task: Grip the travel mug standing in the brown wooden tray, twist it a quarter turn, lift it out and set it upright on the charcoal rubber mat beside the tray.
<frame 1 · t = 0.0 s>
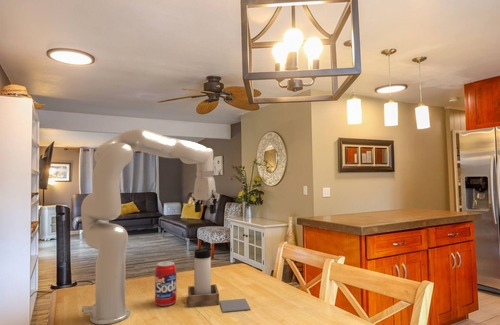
hand: (205, 212, 149), 31 cm above the table, tool pointing down, fingers open, 9 cm apart
soda can: (165, 303, 124), on the table
brown wooden tray: (203, 300, 126), on the table
rubber mat: (234, 306, 121), on the table
travel mug: (203, 301, 126), resting in brown wooden tray
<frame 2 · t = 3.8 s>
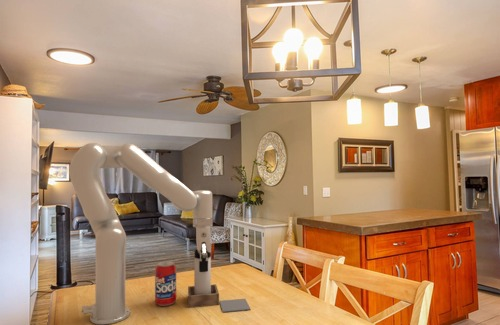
hand: (203, 268, 127), 12 cm above the table, tool pointing down, fingers closed on travel mug, 6 cm apart
travel mug: (203, 301, 126), resting in brown wooden tray, touching gripper
everything else where it was.
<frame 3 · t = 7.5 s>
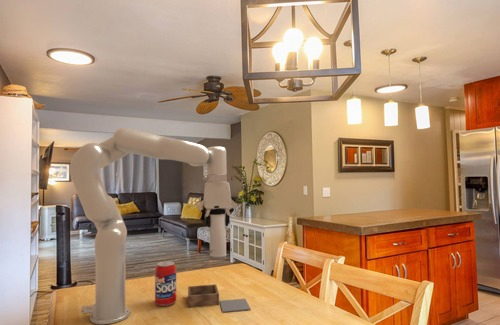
hand: (217, 225, 125), 29 cm above the table, tool pointing down, fingers closed on travel mug, 6 cm apart
travel mug: (218, 258, 124), point 17 cm above the table, touching gripper
everything else where it was.
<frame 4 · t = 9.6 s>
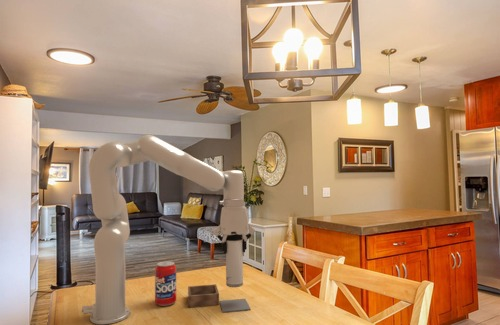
hand: (234, 251, 122), 20 cm above the table, tool pointing down, fingers closed on travel mug, 6 cm apart
travel mug: (234, 285, 121), point 7 cm above the table, touching gripper
everything else where it was.
when the fingers open (14 cm above the table, at t = 11.2 s): travel mug drops 1 cm, resting on rubber mat.
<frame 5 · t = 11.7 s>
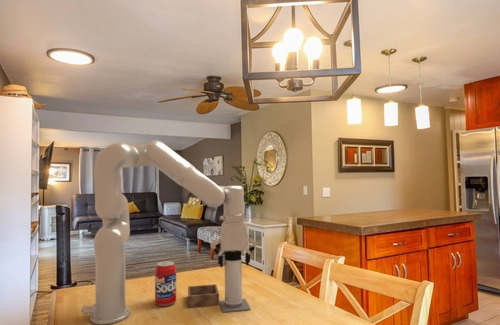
hand: (234, 265, 121), 15 cm above the table, tool pointing down, fingers open, 9 cm apart
travel mug: (233, 305, 121), resting on rubber mat
everything else where it was.
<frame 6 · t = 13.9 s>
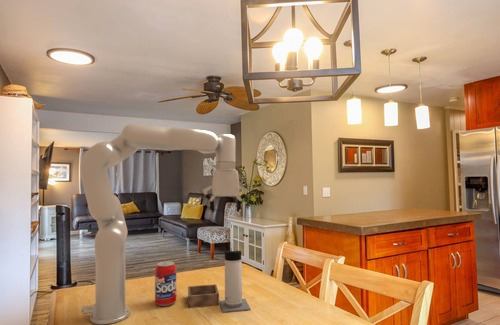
hand: (225, 211, 125), 34 cm above the table, tool pointing down, fingers open, 9 cm apart
nothing on the table moved.
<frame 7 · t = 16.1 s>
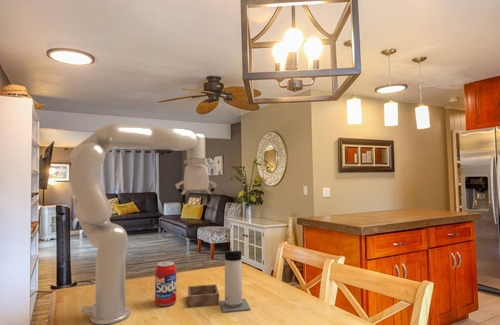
hand: (196, 203, 138), 36 cm above the table, tool pointing down, fingers open, 9 cm apart
nothing on the table moved.
at the end: travel mug 0.4 cm off-centre on the rubber mat, point 0.3 cm above the rubber mat's base; travel mug tilted 0°; the gripper is holding nothing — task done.
